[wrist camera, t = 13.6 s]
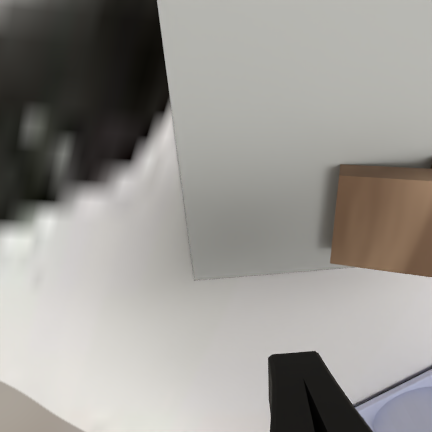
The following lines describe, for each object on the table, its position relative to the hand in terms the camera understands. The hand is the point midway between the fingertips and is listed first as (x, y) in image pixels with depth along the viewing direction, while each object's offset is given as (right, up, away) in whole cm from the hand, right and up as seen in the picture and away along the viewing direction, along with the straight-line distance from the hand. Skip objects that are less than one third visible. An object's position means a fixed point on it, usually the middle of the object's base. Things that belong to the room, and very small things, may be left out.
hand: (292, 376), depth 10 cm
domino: (+4, +5, +8) cm, 10 cm away
